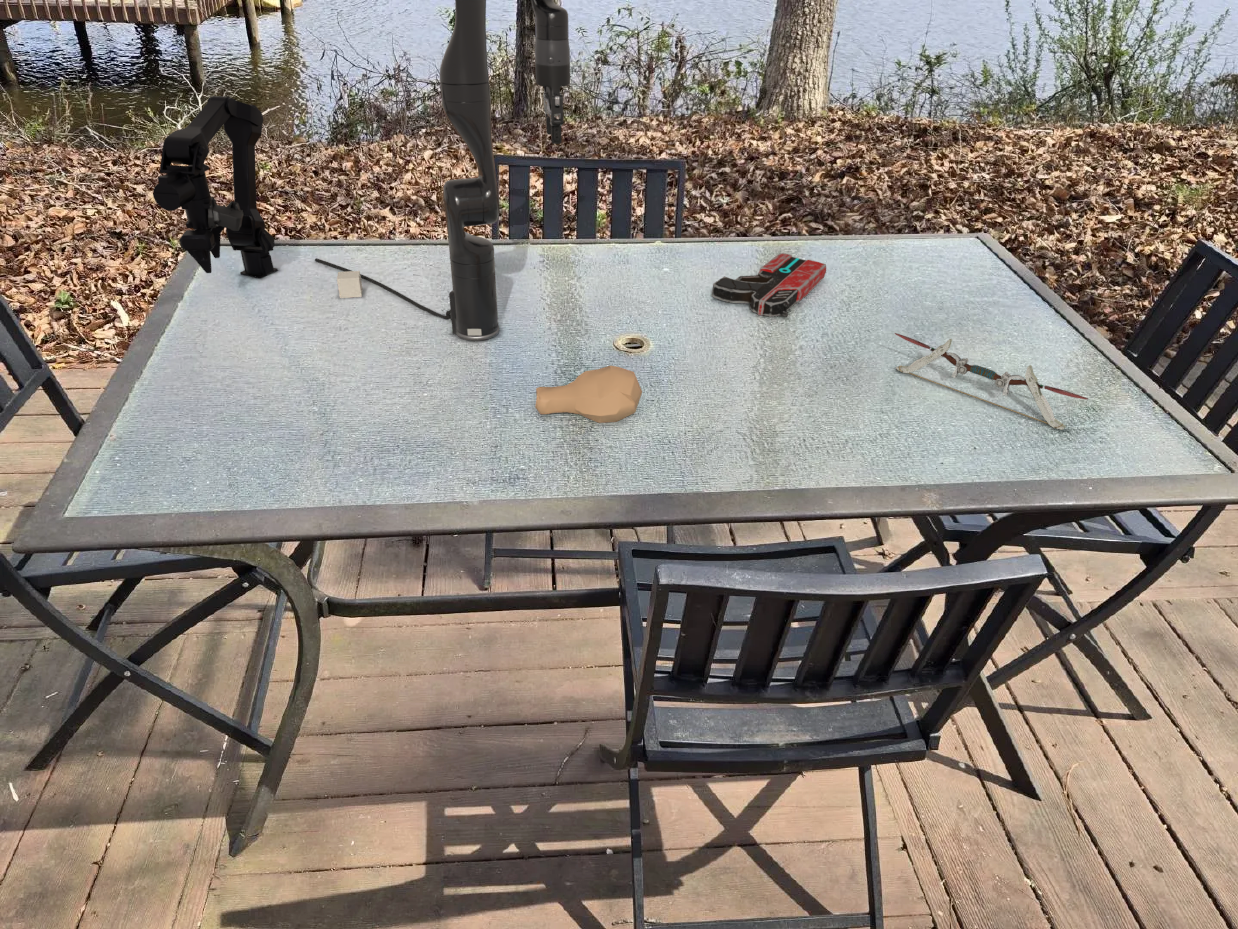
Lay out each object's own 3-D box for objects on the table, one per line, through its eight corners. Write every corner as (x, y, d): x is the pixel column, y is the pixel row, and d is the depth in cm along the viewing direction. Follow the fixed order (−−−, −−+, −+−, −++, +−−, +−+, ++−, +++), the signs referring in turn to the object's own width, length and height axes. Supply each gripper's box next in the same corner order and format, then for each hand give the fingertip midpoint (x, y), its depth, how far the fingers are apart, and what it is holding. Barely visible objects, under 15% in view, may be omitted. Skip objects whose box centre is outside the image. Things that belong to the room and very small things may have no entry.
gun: (708, 284, 207) (784, 305, 199) (760, 245, 229) (831, 262, 221) (706, 302, 209) (781, 323, 201) (758, 261, 231) (828, 278, 223)
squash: (644, 429, 161) (640, 391, 154) (537, 437, 162) (528, 400, 156) (643, 392, 168) (639, 354, 162) (541, 400, 170) (533, 363, 164)
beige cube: (361, 297, 207) (358, 277, 205) (339, 298, 206) (336, 279, 204) (362, 289, 211) (359, 270, 208) (341, 290, 210) (338, 271, 207)
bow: (1077, 432, 163) (1095, 385, 158) (1074, 436, 162) (1091, 388, 156) (889, 364, 184) (899, 320, 179) (885, 367, 183) (895, 323, 178)
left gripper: (227, 208, 183) (243, 279, 192) (243, 182, 198) (257, 249, 207) (170, 210, 181) (189, 281, 190) (190, 183, 197) (207, 250, 205)
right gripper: (574, 66, 185) (574, 146, 194) (565, 55, 196) (565, 130, 205) (539, 67, 183) (541, 147, 192) (531, 55, 195) (533, 131, 204)
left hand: (213, 265), depth 198 cm, fingers open, 9 cm apart
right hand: (553, 138), depth 199 cm, fingers open, 8 cm apart
